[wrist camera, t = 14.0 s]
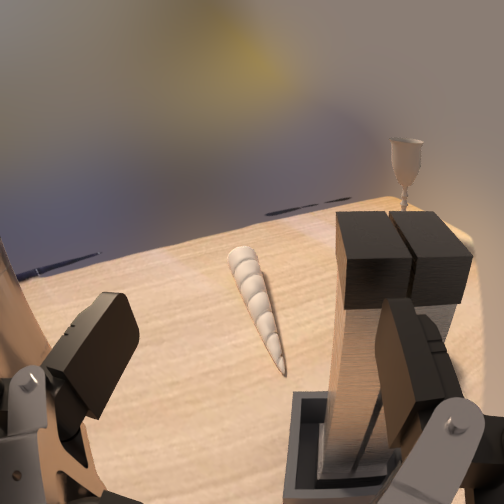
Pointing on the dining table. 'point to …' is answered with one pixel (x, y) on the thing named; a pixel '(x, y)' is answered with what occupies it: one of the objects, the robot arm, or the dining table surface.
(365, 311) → the split metal pillar
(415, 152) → the chalice
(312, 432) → the grey open storage bin
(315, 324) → the dining table surface
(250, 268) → the unicorn horn
